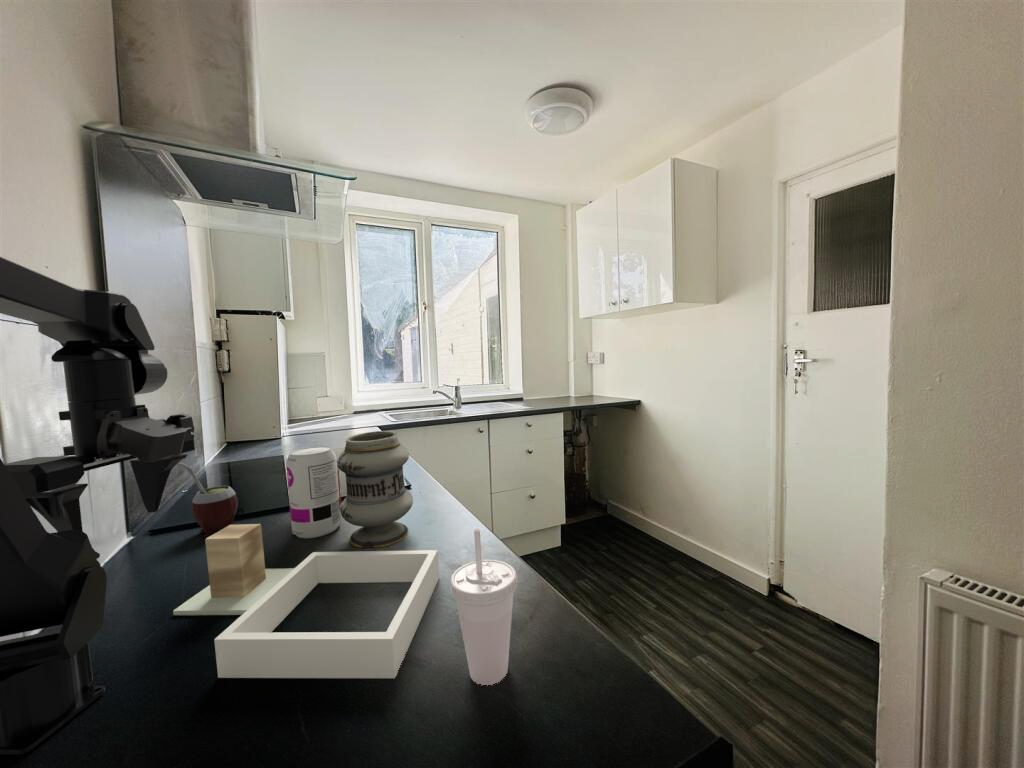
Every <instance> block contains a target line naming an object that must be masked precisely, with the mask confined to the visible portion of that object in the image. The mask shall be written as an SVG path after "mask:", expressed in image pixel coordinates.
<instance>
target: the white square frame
mask: <svg viewBox="0 0 1024 768" xmlns="http://www.w3.org/2000/svg"><path fill="white" fill-rule="evenodd" d="M438 550H439V549H431V550H429V549H427V550H425V549H424V550H421V549H420V550H416V549H415V550H376V551H375V550H374V551H373V550H372V551H371V550H370V551H368V550H367V551H365V550H364V551H361V550H359V551H357V550H356V551H313V552H312V553H310V554H309V555H308V556H307V557H306V558H305V559H303V560H302V561H301V562H300V563H299V564H298V565H296V566H295V567H294V568H295V569H293V570H292V571H291V572H290V573H289V574H288V575H287V576H286V577H284V578H283V579H282V580H281V581H280V582H279V583H278V584H276V585H275V586H274V587H273V588H272V589H271V590H270V591H269V592H267V593H266V594H265V595H264V596H263V597H262V598H261V599H259V600H258V601H257V602H256V603H255V604H254V605H253V606H252V607H250V608H249V609H248V610H247V611H246V612H245V613H244V614H243V615H239V617H237V618H236V619H235V620H234V621H233V622H232V623H231V624H230V625H229V626H228V627H227V628H225V629H224V630H223V631H222V632H221V633H219V635H218V636H216V637H215V638H214V640H213V642H214V648H215V649H214V650H215V659H216V660H215V661H216V669H217V678H218V679H219V678H220V679H224V678H225V679H396V678H395V677H397V675H398V674H399V671H400V669H399V668H401V666H402V664H403V662H404V659H405V658H406V655H407V653H408V650H409V648H410V646H411V644H412V641H413V638H414V636H415V634H416V632H417V630H418V628H419V625H420V623H421V620H422V618H423V616H424V614H425V611H426V608H427V607H428V604H429V602H430V600H431V598H432V597H433V593H434V591H435V588H436V586H437V583H438V582H439V579H440V570H439V569H440V568H439V551H438ZM345 583H346V584H348V583H349V584H353V583H354V584H355V583H356V584H357V583H359V584H360V583H363V584H364V583H367V584H370V583H411V586H410V587H409V589H408V591H407V592H406V594H405V596H404V598H403V600H402V602H401V603H400V605H399V607H398V609H397V611H396V613H395V614H394V617H393V619H392V620H391V622H390V624H389V625H388V628H387V630H386V631H349V632H348V631H335V632H333V631H329V632H328V631H322V632H320V631H316V632H315V631H314V632H313V631H312V632H306V631H304V632H300V631H298V632H297V631H296V632H288V631H287V632H280V631H279V632H276V631H275V632H273V631H274V630H275V629H276V628H277V627H278V626H279V625H280V624H281V623H282V622H283V621H284V620H285V618H286V617H287V616H288V615H289V614H290V613H291V612H292V611H293V610H294V609H295V608H296V607H297V606H298V605H299V604H300V603H301V602H302V601H303V600H304V599H305V598H306V596H307V595H309V593H311V592H312V590H313V589H314V588H315V587H317V585H318V584H345ZM406 652H407V653H406ZM405 654H406V655H405ZM402 661H403V662H402ZM401 663H402V664H401ZM400 665H401V666H400ZM398 670H399V671H398Z"/></svg>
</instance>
